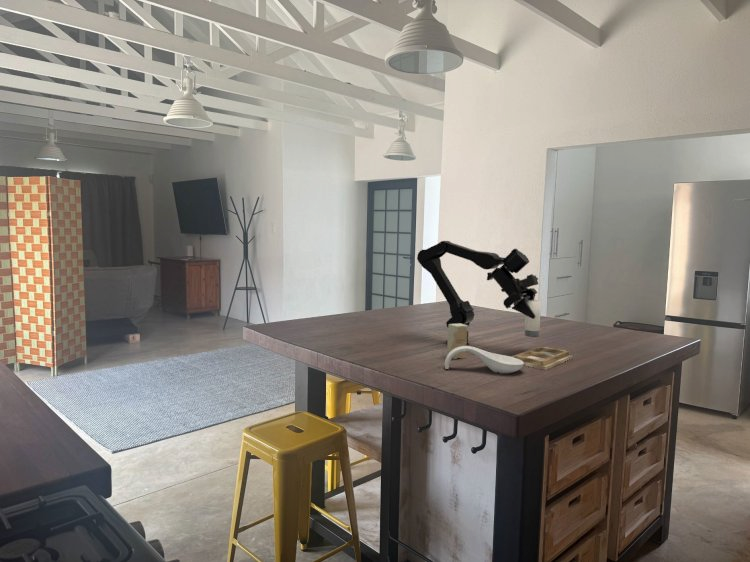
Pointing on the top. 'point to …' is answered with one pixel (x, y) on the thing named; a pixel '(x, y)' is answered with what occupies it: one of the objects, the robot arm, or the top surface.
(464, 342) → the box
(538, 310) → the sleeve
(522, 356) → the bay board
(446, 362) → the spoon rest
